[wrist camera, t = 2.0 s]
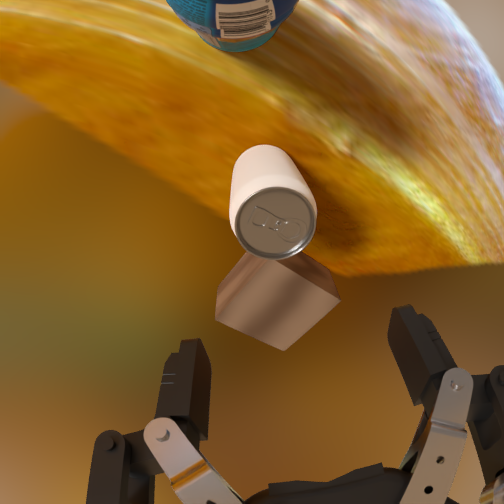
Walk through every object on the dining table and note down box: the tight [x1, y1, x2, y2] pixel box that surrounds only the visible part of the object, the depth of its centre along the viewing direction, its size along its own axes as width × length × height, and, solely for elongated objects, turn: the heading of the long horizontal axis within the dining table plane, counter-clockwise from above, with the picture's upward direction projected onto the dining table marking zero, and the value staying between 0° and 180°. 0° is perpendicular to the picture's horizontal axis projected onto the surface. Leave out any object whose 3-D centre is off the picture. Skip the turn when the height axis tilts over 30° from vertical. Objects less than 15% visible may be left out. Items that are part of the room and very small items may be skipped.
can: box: [229, 145, 317, 260], centre depth 26 cm, size 6×6×12 cm
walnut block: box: [215, 251, 341, 351], centre depth 35 cm, size 10×10×6 cm
